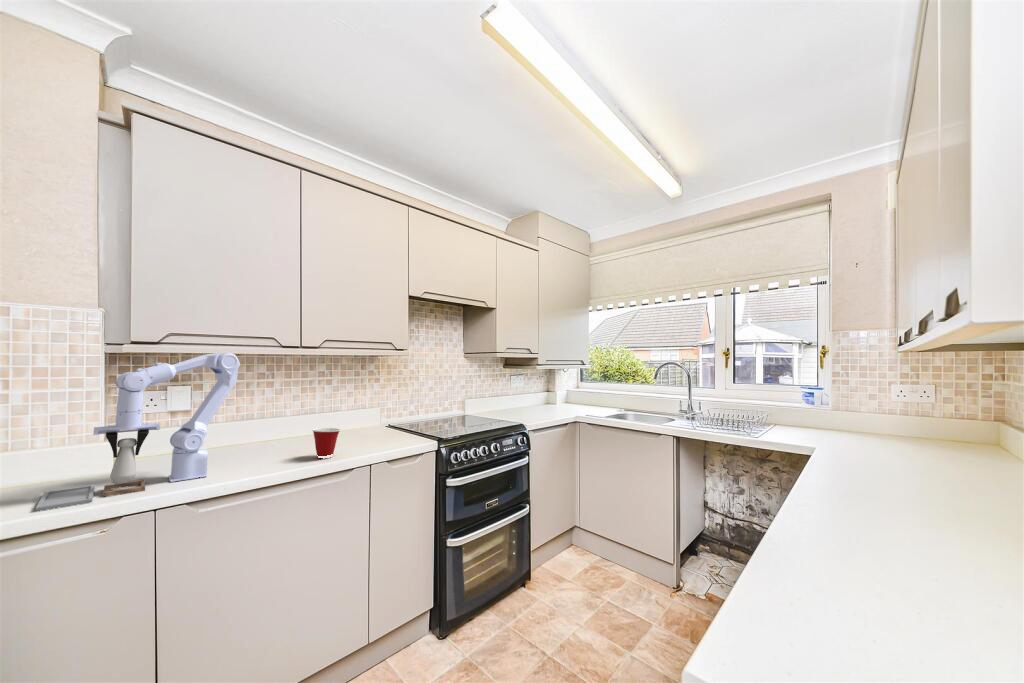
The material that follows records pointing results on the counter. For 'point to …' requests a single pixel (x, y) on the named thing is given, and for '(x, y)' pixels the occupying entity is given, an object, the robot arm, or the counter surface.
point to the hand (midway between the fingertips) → (126, 455)
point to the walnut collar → (124, 489)
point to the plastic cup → (325, 440)
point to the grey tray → (66, 497)
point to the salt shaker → (124, 462)
